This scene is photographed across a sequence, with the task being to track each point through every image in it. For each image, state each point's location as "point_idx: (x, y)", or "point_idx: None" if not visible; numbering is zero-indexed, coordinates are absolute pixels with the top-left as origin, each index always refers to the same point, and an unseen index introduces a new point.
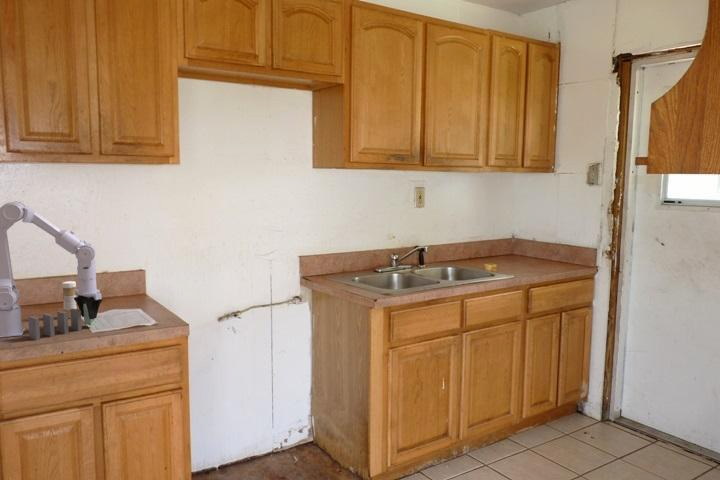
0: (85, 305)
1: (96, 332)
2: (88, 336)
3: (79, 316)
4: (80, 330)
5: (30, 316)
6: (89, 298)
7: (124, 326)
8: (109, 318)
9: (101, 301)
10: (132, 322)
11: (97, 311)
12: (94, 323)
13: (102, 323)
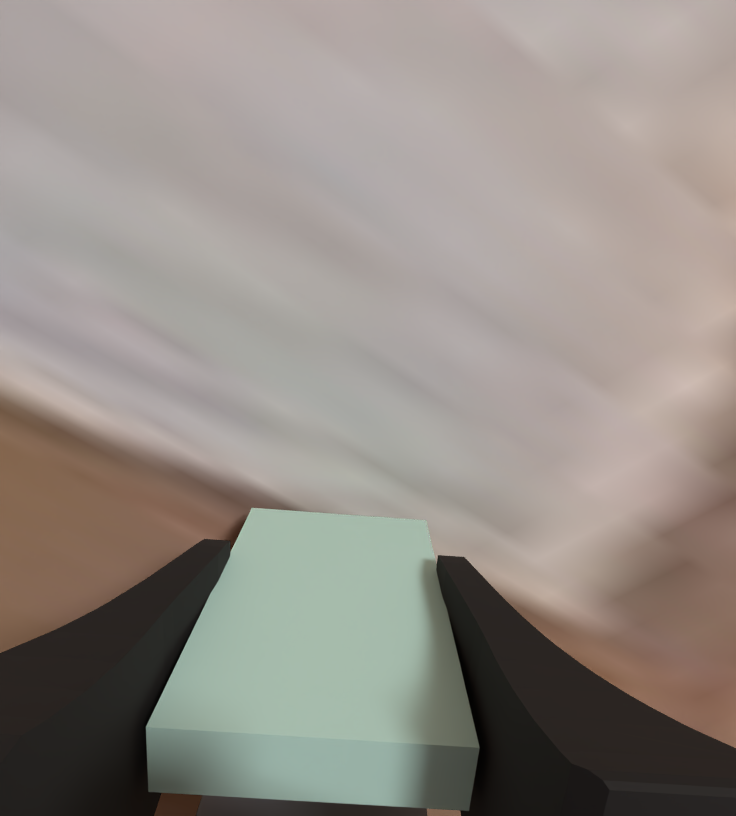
0: (255, 777)
1: (619, 604)
2: (672, 717)
3: (422, 808)
4: None
5: None
6: (69, 759)
7: (707, 277)
8: (118, 97)
9: (723, 749)
10: (638, 59)
11: (512, 611)
12: (428, 532)
13: (314, 338)
